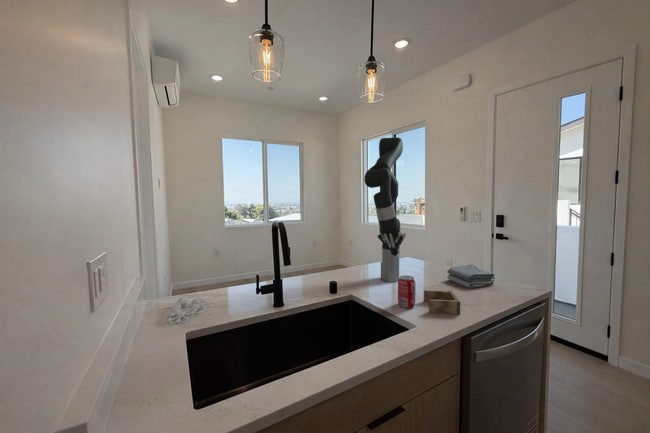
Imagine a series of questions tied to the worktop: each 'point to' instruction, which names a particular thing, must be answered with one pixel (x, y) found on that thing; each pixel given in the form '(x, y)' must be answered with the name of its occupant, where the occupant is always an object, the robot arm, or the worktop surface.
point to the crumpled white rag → (180, 314)
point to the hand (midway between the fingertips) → (395, 255)
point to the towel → (470, 276)
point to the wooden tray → (442, 302)
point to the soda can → (406, 291)
